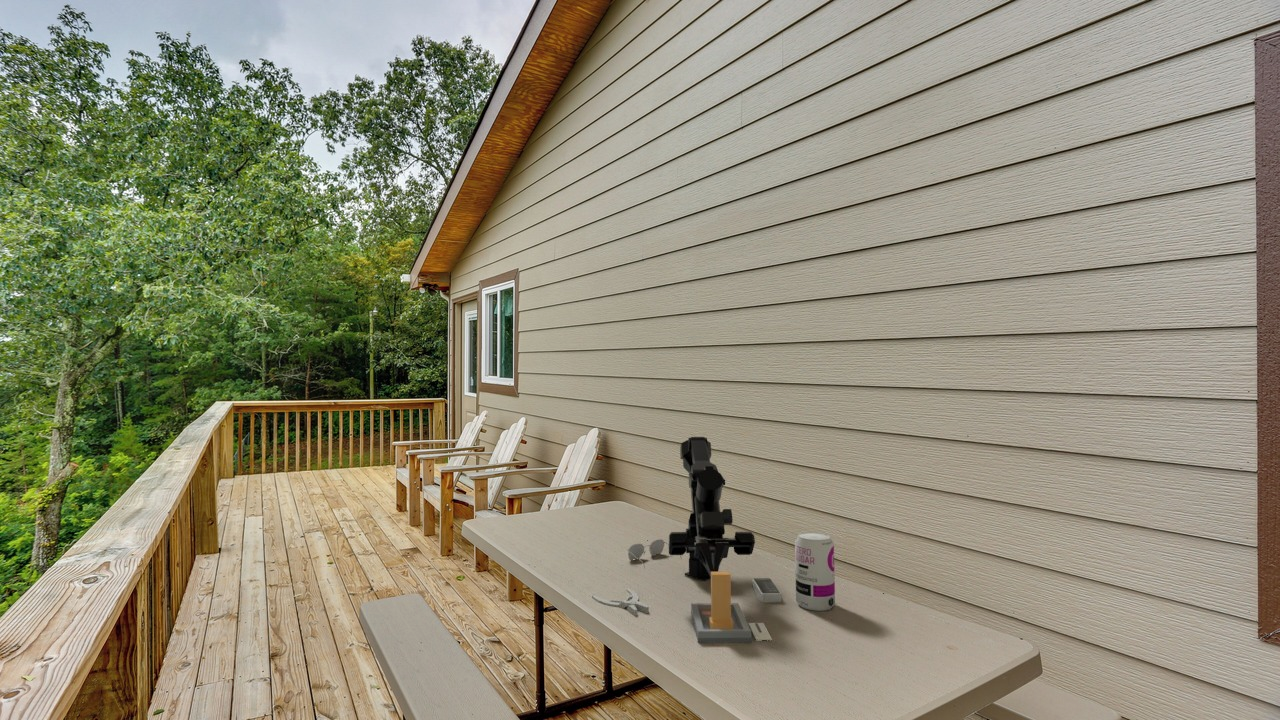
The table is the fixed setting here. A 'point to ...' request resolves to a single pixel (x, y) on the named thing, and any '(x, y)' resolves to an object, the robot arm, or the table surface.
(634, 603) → the pliers
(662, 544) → the sunglasses
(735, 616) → the switch housing
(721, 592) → the orange tall block
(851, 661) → the table surface
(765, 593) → the multiport hub
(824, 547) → the supplement can
